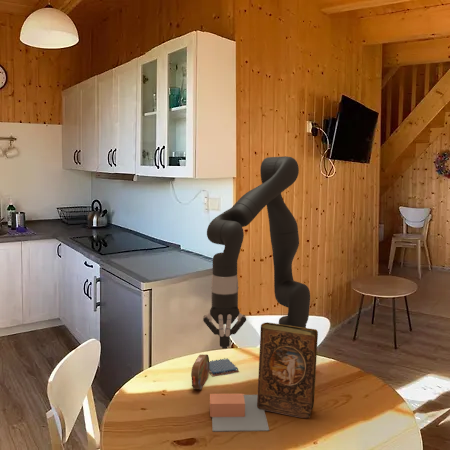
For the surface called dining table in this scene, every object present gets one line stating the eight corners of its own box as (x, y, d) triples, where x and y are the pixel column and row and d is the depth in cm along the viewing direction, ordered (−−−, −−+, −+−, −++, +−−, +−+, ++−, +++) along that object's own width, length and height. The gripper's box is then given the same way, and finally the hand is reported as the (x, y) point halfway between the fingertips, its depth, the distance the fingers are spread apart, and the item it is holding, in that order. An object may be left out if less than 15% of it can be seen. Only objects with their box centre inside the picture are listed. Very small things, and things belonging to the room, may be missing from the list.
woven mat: (227, 362, 178) (227, 356, 178) (239, 373, 169) (240, 368, 168) (201, 366, 174) (201, 361, 174) (212, 378, 165) (212, 373, 164)
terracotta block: (209, 406, 145) (243, 406, 145) (210, 417, 139) (244, 416, 139) (209, 393, 144) (243, 393, 144) (210, 403, 138) (245, 403, 139)
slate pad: (260, 395, 152) (260, 394, 152) (269, 430, 132) (269, 429, 132) (211, 396, 152) (211, 395, 152) (212, 431, 132) (212, 430, 132)
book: (255, 408, 144) (258, 327, 140) (259, 400, 149) (263, 321, 145) (310, 419, 138) (315, 336, 135) (313, 410, 144) (318, 329, 140)
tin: (199, 394, 153) (199, 369, 152) (189, 393, 153) (189, 368, 152) (210, 374, 167) (210, 350, 166) (201, 373, 168) (201, 349, 167)
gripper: (246, 286, 142) (245, 342, 144) (201, 286, 141) (201, 343, 143) (249, 293, 134) (248, 352, 137) (201, 293, 134) (201, 353, 136)
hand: (224, 347), depth 140 cm, fingers closed
